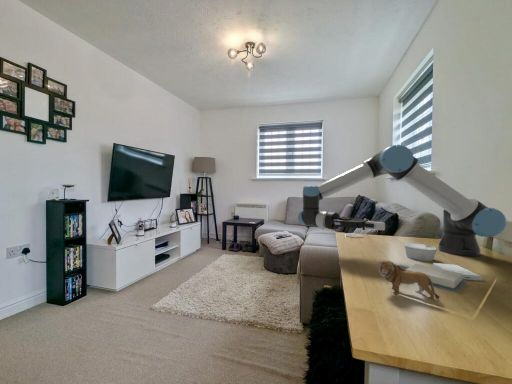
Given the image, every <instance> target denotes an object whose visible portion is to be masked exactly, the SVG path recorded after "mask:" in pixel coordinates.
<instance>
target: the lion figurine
mask: <svg viewBox="0 0 512 384" xmlns="http://www.w3.org/2000/svg"><path fill="white" fill-rule="evenodd" d="M378 263H379V265H378V273H379V275H380V276H381V277H383V278H384V279H385V280H386V281H387V282H389V283H391V285H392V287H391V289H392V290H394V291H393V292H392V293H393V294H394V295H396V296H397V295H399V294H400V286H401V284H403V285H410V286H411V285H415V284H417V285H418V290H417V291H416V290H415V291H414V292H415V293H416V294H422V293H423V292H424V291H425V292H426V293H427V294H428V295H429V296H428V297H427V299H429V300H434V299H435V297H436V298H440V295H438V294H437V293H436V292H435V287H433V284H432V281H431V279H430V278H429V277H428V276H427V275H426V274H424V273H422V272H409V271H405V270H403V269H402V268H401V267H400V266H398V265H399V264H396V263H394V262H392V261H390V260H387V259H384V260H381V261H379V262H378ZM428 281H429V283H430V286H429V285H428Z"/></svg>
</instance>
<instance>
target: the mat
mask: <svg viewBox="0 0 512 384" xmlns="http://www.w3.org/2000/svg"><path fill="white" fill-rule="evenodd" d="M397 265H398V266H400V267H401V268H402V269H403V270H405V271H406V269H407V268H409V267H410V266H406V265H405V266H404V265H401V264H397ZM468 282H469V281H468V280H467V279H462V281H461V282H460V283H459V284H458V285H457V286H456V287H455V288H454V289H450V288H446V287H442V286H439V285H435V284H433V287H434V288H437V289H441V290H445V291H448V292H452V293H456V294H459V293H460V291H461V290H462V289H463V288H464V287H465V286H466V285H467V283H468ZM428 286H429V287H431V286H430V283H428Z"/></svg>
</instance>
